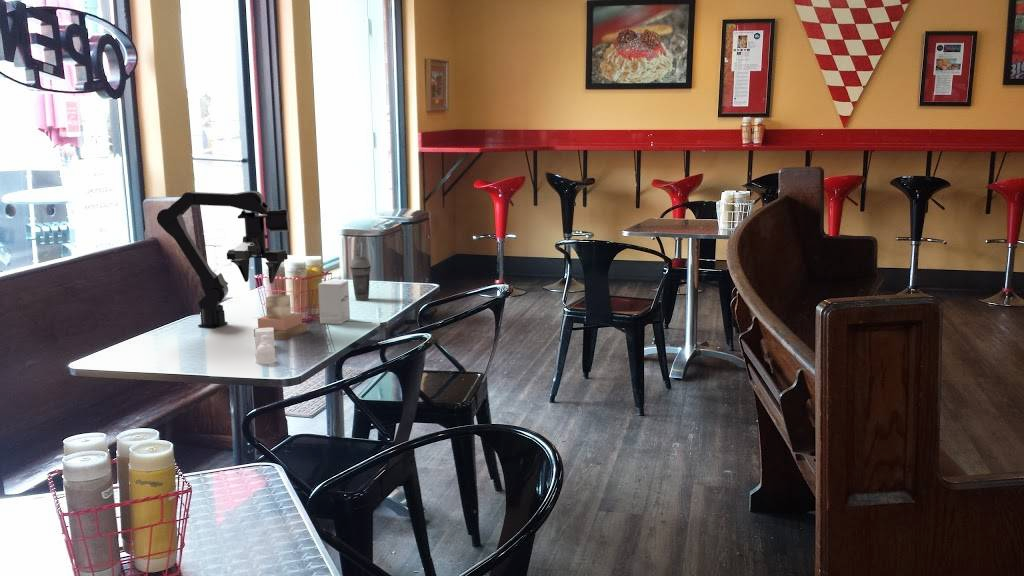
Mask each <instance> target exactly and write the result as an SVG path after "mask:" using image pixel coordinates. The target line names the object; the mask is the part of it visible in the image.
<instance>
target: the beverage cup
mask: <svg viewBox="0 0 1024 576" xmlns="http://www.w3.org/2000/svg"><path fill="white" fill-rule="evenodd" d="M363 244H364V243H362V242H360V255H356V256H354V257H353V258H352V260H351V261H350V267H349V268H350V272H351V278H352V284H353V290H354V291H353V292H354V298H355V301H357V302H363V301H369V299H370V298H369V296H370V277H371V276H370V275H371V274H370V273H371V267H372V265H371V262H370V259H369V258H368V257H367V256H364V255H363Z"/></svg>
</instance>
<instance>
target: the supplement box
mask: <svg viewBox="0 0 1024 576" xmlns="http://www.w3.org/2000/svg"><path fill="white" fill-rule="evenodd" d="M317 288H318V306H319V307H318V308H319V309H318V310H319V324H328V325H330V324H331V325H343V323H345V322H347V321H349V320H350V319H351V313H350V312H351V311H350V291H349V290H350V289H349V280H345V279H343V280H341V279H339V280H338V279H335V280H334V279H330V280H329V279H327V280H324V281H323V282H320V283H318V284H317Z"/></svg>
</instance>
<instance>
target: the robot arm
mask: <svg viewBox="0 0 1024 576" xmlns="http://www.w3.org/2000/svg"><path fill="white" fill-rule="evenodd" d="M196 205H197V206H213V207H214V206H215V207H231V208H236V209H239V210H242V211H241V212H240V213H239V215H237V219H244V229H245V230H244V231H245V235H244V236H242V237H243V238H242V242H241V243H239V244H238V245H237V246H235V248H232V249H228V250H227V252H226V260H230V262H231V263H233V264H235V266H237V268H238V270H239V272H240V273H241V275H242V278H243V280H244V282H245V283H247V282H249V278H250V259H252V258H254V259H255V258H256V259H266V262H265V264H266V266H267V268H268V269H267V270H268V281H269V283H270V284H273V283H274V281H275V279H276V276H277V273H278V270H279V268H280V267H281V265H282V263H283V262H285V260H288V253H287V252H286V250H285V249H282V250H281V249H275V250H270V249H269V247H267V243H266V242H267V241H266V239H268V238H269V236H268V235H269V234H266V231H265V230H266V229H267V230H269V232H270V233H272V232H273V233H274V232H275V233H276V232H278V233H279V232H290V230H291V229H290V225H291V223H290V220H291V219H290V218H289V212H288V209H287V208H283V209H274V210H273V209H271V208H270V207H269V206H268V204H267V203H266V202H265V199H264V196H263V194H262V193H261V192H259V191H258V190H249V191H241V192H234V193H224V192H222V193H221V192H200V191H199V192H198V191H197V192H196V191H193V190H190V191H187V192H183V194H182V195H181V196H180V197H179V198H178V199H177V200H176V201H175V202H174V203H173V204H171V205H170V206H168V207H166V208H163V209H161V210H160V211H159V212H158V213H157V216H156V220H157V223H158V225H159V226H160V227H161V228H162V229H163V230H164V231H165V232H166V233H167V234H168V235H169V236H170V237H172V238H173V239H174V241H175V242H176V244H177V245H178V247H179V248H180V250H181V251H182V253H183V255H184V256H185V258H186V260H188V262H189V264H190V266H191V268H193V270H194V272H195V273H196V275H197V277H199V281H200V285H201V289H202V291H203V294H204V296H203V297H202V298H201V299H200V300H199V301H198V305H199V309H200V310H199V311H200V320H201V321H200V324H198V325H197V327H200V328H212V329H216V328H218V327H221V326H224V325H227V324H228V321H226V317H225V315H226V314H225V309H224V305H223V304H221V303H222V302H223V300H224V299H225V298H226V297H227V295H228V294H229V287H228V284H229V282H227V281H226V279H225V278H224V276H223V275H224V274H222V272H219V274H216V273H215V271H213V270H212V268H211V267H210V266H209V263H208V262H207V260H206V259H205V257H204V255H203V254H202V252H201V251H200V250H199V248H198V246H197V245H196V244H195V242H194V240H193V239H192V237H191V235H190V234H189V232H188V230H187V227H186V222H185V220H184V217H183V216H184V214H186V212H187V211H188V210H189V209H190V208H191V207H192V206H196ZM257 213H258V214H257ZM265 227H266V228H265Z"/></svg>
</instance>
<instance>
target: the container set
mask: <svg viewBox="0 0 1024 576" xmlns="http://www.w3.org/2000/svg"><path fill="white" fill-rule="evenodd" d="M255 328H256V329H255ZM255 328H254V329H255V337H254V338H255V364H257V365H270V364H274V363H276V362H277V359H276V349H275V346H276V345H275V339H274V330H273V327H271V328H270V327H269V328H258V327H255Z"/></svg>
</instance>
